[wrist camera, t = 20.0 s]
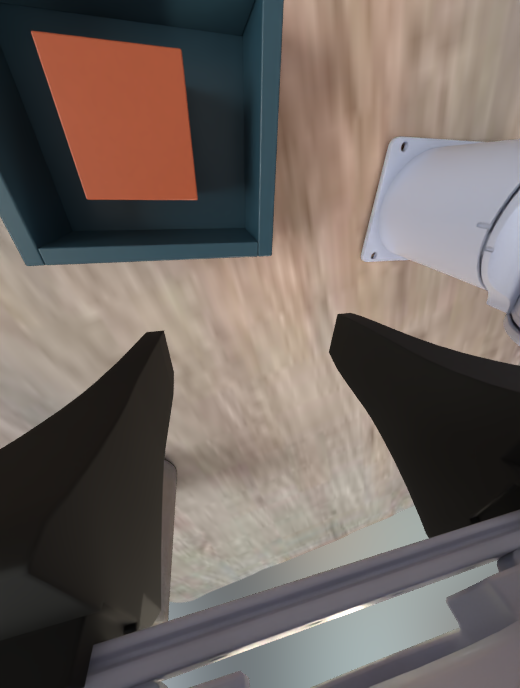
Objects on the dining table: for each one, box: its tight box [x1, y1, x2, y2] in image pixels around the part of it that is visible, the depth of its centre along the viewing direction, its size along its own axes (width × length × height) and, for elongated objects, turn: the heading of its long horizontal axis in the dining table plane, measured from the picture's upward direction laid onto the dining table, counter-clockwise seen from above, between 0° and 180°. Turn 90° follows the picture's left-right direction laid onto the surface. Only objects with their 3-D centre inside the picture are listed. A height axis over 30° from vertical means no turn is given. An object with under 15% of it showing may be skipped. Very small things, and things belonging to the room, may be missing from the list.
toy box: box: [0, 0, 284, 266], centre depth 12 cm, size 12×10×5 cm
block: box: [31, 31, 198, 200], centre depth 11 cm, size 5×5×5 cm
